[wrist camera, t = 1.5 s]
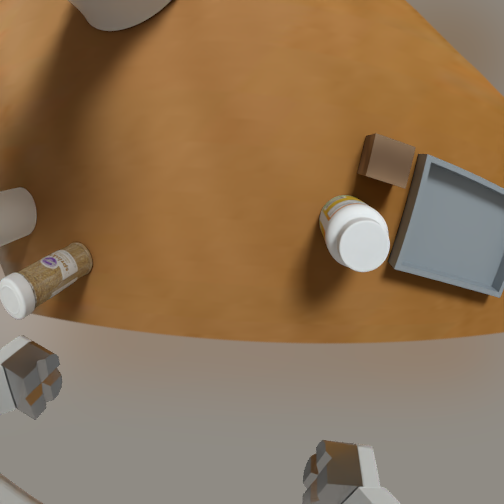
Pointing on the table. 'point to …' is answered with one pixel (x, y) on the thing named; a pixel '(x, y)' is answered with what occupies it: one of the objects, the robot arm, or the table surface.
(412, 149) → the walnut block
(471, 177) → the tray
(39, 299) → the sprinkles bottle
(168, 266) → the table surface
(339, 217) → the supplement bottle
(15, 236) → the cylindrical container
